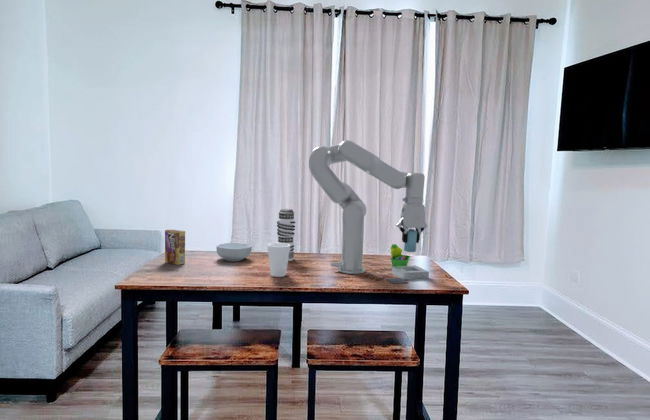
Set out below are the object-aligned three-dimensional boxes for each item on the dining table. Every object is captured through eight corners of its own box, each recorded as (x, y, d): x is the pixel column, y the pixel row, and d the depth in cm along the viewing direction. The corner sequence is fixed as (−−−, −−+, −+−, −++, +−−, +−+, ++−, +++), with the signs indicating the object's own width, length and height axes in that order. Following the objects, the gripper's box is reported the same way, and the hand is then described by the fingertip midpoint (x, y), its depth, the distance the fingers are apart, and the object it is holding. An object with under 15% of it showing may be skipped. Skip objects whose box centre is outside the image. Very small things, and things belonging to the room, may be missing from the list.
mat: (392, 284, 178) (392, 283, 178) (385, 279, 185) (385, 278, 185) (408, 283, 180) (408, 282, 180) (400, 278, 187) (400, 277, 187)
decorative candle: (290, 256, 224) (291, 208, 221) (297, 260, 215) (298, 210, 213) (273, 257, 220) (274, 208, 217) (279, 261, 212) (281, 210, 209)
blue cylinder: (407, 252, 189) (408, 230, 188) (402, 249, 194) (403, 228, 193) (417, 252, 190) (419, 230, 189) (412, 249, 195) (413, 228, 194)
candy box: (185, 263, 201) (185, 230, 199) (178, 265, 197) (178, 231, 196) (171, 261, 205) (171, 228, 203) (164, 262, 201) (164, 230, 199)
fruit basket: (406, 271, 201) (407, 247, 200) (387, 269, 204) (388, 245, 203) (409, 266, 212) (411, 243, 211) (391, 264, 215) (392, 241, 214)
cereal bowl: (257, 261, 211) (258, 246, 210) (226, 265, 201) (226, 250, 200) (241, 254, 224) (241, 241, 224) (210, 258, 214) (210, 244, 213)
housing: (403, 279, 186) (403, 272, 185) (391, 272, 197) (391, 266, 197) (428, 278, 189) (428, 271, 189) (415, 271, 201) (415, 265, 200)
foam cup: (264, 272, 189) (265, 243, 188) (285, 271, 193) (285, 242, 191) (270, 278, 180) (271, 247, 179) (292, 276, 184) (292, 246, 183)
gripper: (399, 201, 184) (396, 244, 186) (435, 202, 189) (432, 244, 191) (392, 199, 191) (389, 240, 193) (426, 201, 196) (423, 240, 198)
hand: (410, 241), depth 192 cm, fingers closed on blue cylinder, 5 cm apart
